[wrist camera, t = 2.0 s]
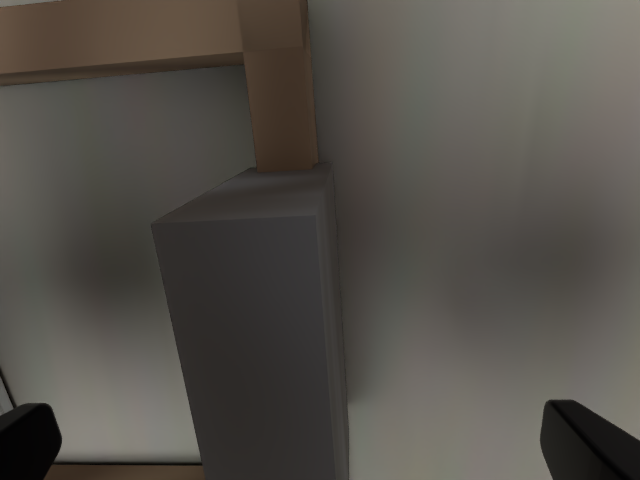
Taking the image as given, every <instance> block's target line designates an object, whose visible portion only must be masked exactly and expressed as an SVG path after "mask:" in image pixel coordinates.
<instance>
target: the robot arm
mask: <svg viewBox="0 0 640 480" xmlns="http://www.w3.org/2000/svg"><path fill="white" fill-rule="evenodd" d="M61 444H62V435H61V432H60V429H59V427H58V424H57V421H56V418H55V415H54V412H53V409H52V407H51V406H50V405H48V404H46V403H26V404H23V405H20V406H18V407H16V408H14V409H12V410H10V411H8V412H6V413H4V414H2V415H0V480H44V478H45V476H46V475H47V473H48V471H49V469H50V467H51V465H52V464H53V462H54V460H55V458H56V456H57V455H58V453H59V451H60V448H61ZM540 444H541V449H542V453H543V456H544V458H545V461H546V463H547V466H548V468H549V471H550V473H551V476H552V479H553V480H640V440H638V439H636V438H635V437H633V436H632V435H630V434H628V433H627V432H625V431H623V430H622V429H620V428H619V427H617V426H615V425H614V424H612V423H611V422H609V421H607V420H606V419H604V418H602V417H601V416H599V415H598V414H596V413H594V412H593V411H591V410H590V409H588V408H586V407H585V406H583V405H581V404H580V403H578V402H576V401H574V400H549V401H547V402H546V404H545V406H544V412H543V419H542V427H541V434H540Z"/></svg>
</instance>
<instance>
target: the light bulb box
mask: <svg viewBox="0 0 640 480" xmlns="http://www.w3.org/2000/svg"><path fill="white" fill-rule="evenodd" d="M12 409H13V406H12V404H11V401H10V399H9V396H8V394H7V391H6V389H5V386H4V384H3V382H2V379H1V377H0V415H2V414H4V413H6V412H8V411H10V410H12Z"/></svg>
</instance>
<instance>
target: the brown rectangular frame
mask: <svg viewBox="0 0 640 480" xmlns="http://www.w3.org/2000/svg"><path fill="white" fill-rule="evenodd" d="M243 64H244V65H245V73H246V81H247V90H248V98H249V106H250V114H251V123H252V131H253V139H254V147H255V156H256V164H257V167H253V168H249V169H247V170H246V171H244V172H242V173H240V174H238V175H237V176H235V177H233V178H231V179H229V180H228V181H226V182H224V183H222V184H221V185H219V186H217V187H215V188H213V189H212V190H210V191H208V192H206V193H204V194H203V195H201V196H199V197H197V198H196V199H194V200H192V201H190V202H188V203H187V204H185V205H183V206H181V207H179V208H178V209H176V210H174V211H172V212H171V213H169V214H167V215H165V216H163V217H162V218H160V219H158V220H156V221H154V222H153V223H151V228H152V233H153V238H154V242H155V247H156V252H157V256H158V261H159V266H160V270H161V275H162V280H163V284H164V289H165V293H166V298H167V303H168V307H169V312H170V317H171V321H172V326H173V331H174V335H175V340H176V345H177V349H178V354H179V359H180V363H181V368H182V372H183V377H184V382H185V386H186V391H187V396H188V400H189V405H190V410H191V414H192V419H193V424H194V428H195V433H196V437H197V442H198V447H199V451H200V456H201V461H202V465H203V466H153V465H51V467H50V469H49V471H48V473H47V475H46V476H45V478H44V480H349V425H348V409H347V392H346V376H345V359H344V343H343V326H342V309H341V293H340V276H339V260H338V243H337V227H336V210H335V194H334V177H333V162H331V163H319V160H318V146H317V132H316V118H315V104H314V90H313V76H312V62H311V48H310V34H309V20H308V6H307V0H63V1H54V2H44V3H35V4H26V5H17V6H7V7H0V86H5V85H16V84H28V83H39V82H50V81H62V80H73V79H84V78H96V77H107V76H118V75H130V74H141V73H152V72H163V71H175V70H186V69H197V68H209V67H220V66H231V65H243Z"/></svg>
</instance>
